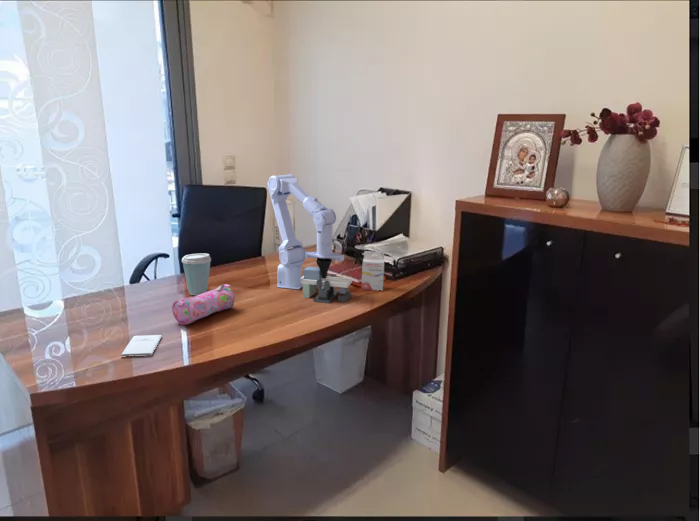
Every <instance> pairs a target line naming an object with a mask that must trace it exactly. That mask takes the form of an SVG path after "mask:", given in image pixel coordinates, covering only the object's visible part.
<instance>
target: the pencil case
mask: <svg viewBox="0 0 700 521" xmlns="http://www.w3.org/2000/svg"><path fill="white" fill-rule="evenodd" d="M229 287H231V285H230V284H227V283H226V284H225V283H224V284H221V285H219V286H218V287H217V288H213V289H212V290H209V291H208V290H207V291H206V292H205V293H203V294H200V295H197V296H196V295H194V296H189V297H182V298H178V299H176V300H174V302H173V303H172V306H171V307H172V308H171V311H172V315H173V317H174V319H175V320H176V322H177V323H178V324H180V325H185V326H186V325H190V324H193V323H194V322H196V321H197V320H200V319H203V318H205V317H208V316H210V315H212V314H214V313H218V312H222V311H225V310H229V309H232V308H234V306H235V294H234V292H233V289H232V288H229Z"/></svg>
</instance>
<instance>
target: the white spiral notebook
mask: <svg viewBox="0 0 700 521" xmlns="http://www.w3.org/2000/svg"><path fill="white" fill-rule="evenodd" d="M161 337H162V338H163V335H161V334H151V335H150V334H149V335H148V334H146V335H133V337H132V338H131V339H130V341H129V342H128V344H127V345H126V347H125V348H124V350H123V351H122V353H121V355H120V357H121V356H129V355H134V356H135V355H152V354H153V352H154V350H155V349H157V348H158V346H159V344H160V343H159V341H160V339H161ZM161 340H162V339H161ZM160 342H161V341H160ZM158 343H159V344H158ZM157 345H158V346H157ZM156 347H157V348H156ZM155 351H156V350H155ZM154 353H155V352H154ZM153 355H154V354H153Z"/></svg>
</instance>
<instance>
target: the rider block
mask: <svg viewBox="0 0 700 521" xmlns="http://www.w3.org/2000/svg"><path fill="white" fill-rule="evenodd" d="M303 276H304V279H309V280H321V279H322V275H321V271H320V269H319V266H306V267H305V268H304V269H303Z"/></svg>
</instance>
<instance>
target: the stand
mask: <svg viewBox="0 0 700 521" xmlns="http://www.w3.org/2000/svg"><path fill="white" fill-rule="evenodd" d="M327 276H330V273H327ZM330 277H338V276H337V274H335V273H331V276H330ZM322 286H323V285H322V280H317V285H316V290H318V294H317V295H316V296H314V298H313V302H316V303H321V304H322V303H323V304H330V303H331V302H332V301H333V300H334V299H335V298H336V296H338V294H340V289H336V288H335V287H334V286H330V281H325V282H324V289H321V287H322Z"/></svg>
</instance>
